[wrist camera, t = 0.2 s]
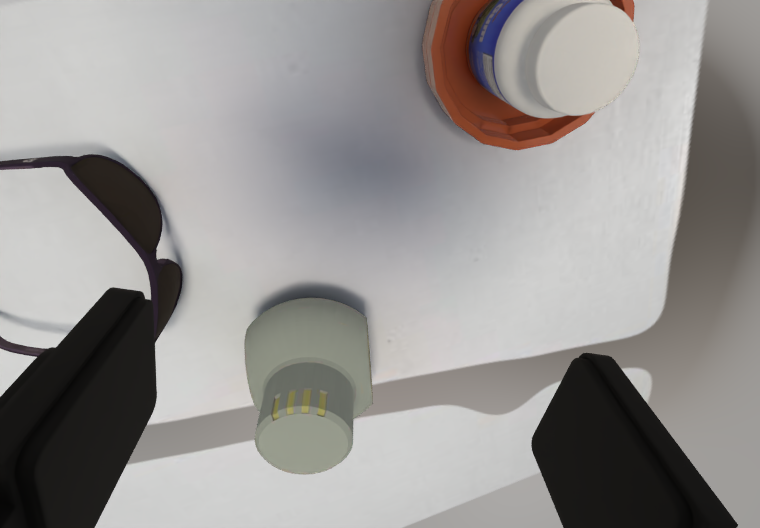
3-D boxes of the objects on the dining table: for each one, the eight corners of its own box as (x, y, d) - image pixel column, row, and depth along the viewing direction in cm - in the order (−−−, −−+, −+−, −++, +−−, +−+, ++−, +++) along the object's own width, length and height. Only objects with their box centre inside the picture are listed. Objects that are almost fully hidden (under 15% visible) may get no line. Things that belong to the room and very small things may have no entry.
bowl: (448, -85, 23) (465, -102, 20) (626, -37, 24) (671, -45, 21) (404, 115, 28) (411, 129, 24) (555, 145, 29) (583, 163, 26)
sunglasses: (205, 316, 34) (183, 361, 30) (-3, 338, 34) (-55, 386, 30) (142, 135, 27) (102, 157, 23) (-116, 162, 28) (-204, 190, 23)
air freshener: (372, 386, 38) (378, 496, 30) (274, 394, 38) (251, 507, 29) (363, 276, 33) (366, 370, 24) (250, 284, 33) (212, 382, 24)
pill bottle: (533, -35, 24) (633, -63, 15) (573, 57, 26) (680, 78, 18) (445, 31, 25) (492, 41, 17) (491, 113, 27) (553, 158, 19)
